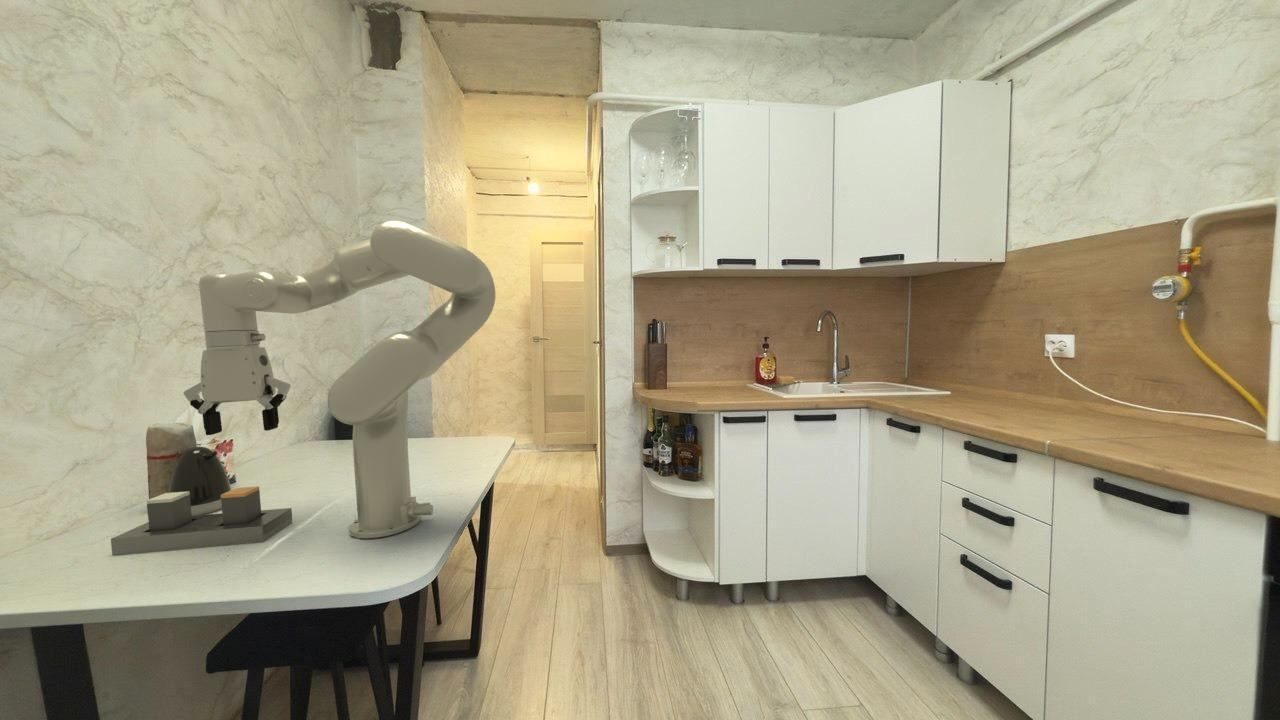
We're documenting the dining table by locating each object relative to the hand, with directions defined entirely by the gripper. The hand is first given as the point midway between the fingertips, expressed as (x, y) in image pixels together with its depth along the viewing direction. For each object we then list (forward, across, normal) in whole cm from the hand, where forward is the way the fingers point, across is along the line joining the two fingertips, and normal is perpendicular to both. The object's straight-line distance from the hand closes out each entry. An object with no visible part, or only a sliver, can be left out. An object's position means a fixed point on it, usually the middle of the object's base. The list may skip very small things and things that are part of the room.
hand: (243, 431), depth 88 cm
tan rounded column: (+20, +29, -22) cm, 42 cm away
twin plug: (+20, +14, 0) cm, 24 cm away
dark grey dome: (+21, +20, -17) cm, 33 cm away
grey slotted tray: (+21, +8, 0) cm, 22 cm away
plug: (+20, +2, 0) cm, 20 cm away
